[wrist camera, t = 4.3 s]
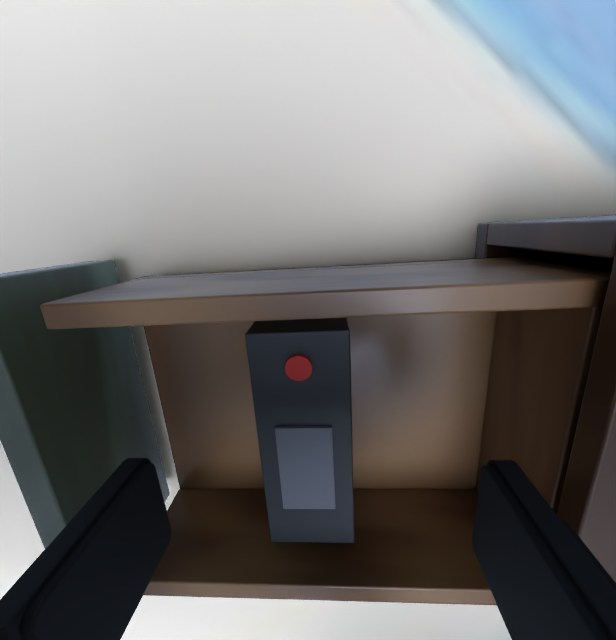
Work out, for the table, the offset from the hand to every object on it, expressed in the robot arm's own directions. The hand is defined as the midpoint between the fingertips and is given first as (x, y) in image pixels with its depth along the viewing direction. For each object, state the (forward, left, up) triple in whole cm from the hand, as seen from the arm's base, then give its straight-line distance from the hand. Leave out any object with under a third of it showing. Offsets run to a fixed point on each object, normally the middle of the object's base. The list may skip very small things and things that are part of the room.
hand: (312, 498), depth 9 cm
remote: (0, 0, -6) cm, 6 cm away
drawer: (-3, 0, -7) cm, 8 cm away
